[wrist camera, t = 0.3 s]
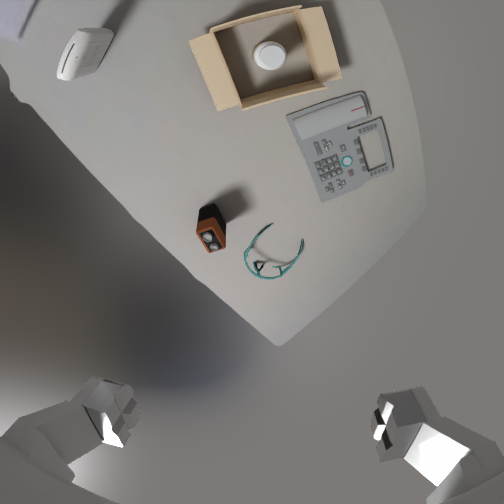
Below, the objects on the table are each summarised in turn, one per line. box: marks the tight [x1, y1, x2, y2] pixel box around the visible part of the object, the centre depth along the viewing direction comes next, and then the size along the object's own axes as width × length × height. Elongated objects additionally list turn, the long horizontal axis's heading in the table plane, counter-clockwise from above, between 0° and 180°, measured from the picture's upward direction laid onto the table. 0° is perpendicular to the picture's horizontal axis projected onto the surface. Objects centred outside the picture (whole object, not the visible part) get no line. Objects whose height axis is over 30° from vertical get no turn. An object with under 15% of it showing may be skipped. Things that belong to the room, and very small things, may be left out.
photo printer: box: [57, 28, 114, 81], centre depth 33 cm, size 10×4×12 cm, turn 144°
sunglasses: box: [244, 223, 303, 279], centre depth 75 cm, size 14×15×5 cm
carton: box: [188, 5, 342, 111], centre depth 39 cm, size 16×24×8 cm, turn 108°
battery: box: [196, 204, 226, 253], centre depth 64 cm, size 4×7×10 cm, turn 20°
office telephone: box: [286, 92, 393, 202], centre depth 56 cm, size 23×3×20 cm
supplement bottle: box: [252, 41, 287, 70], centre depth 39 cm, size 5×5×10 cm
